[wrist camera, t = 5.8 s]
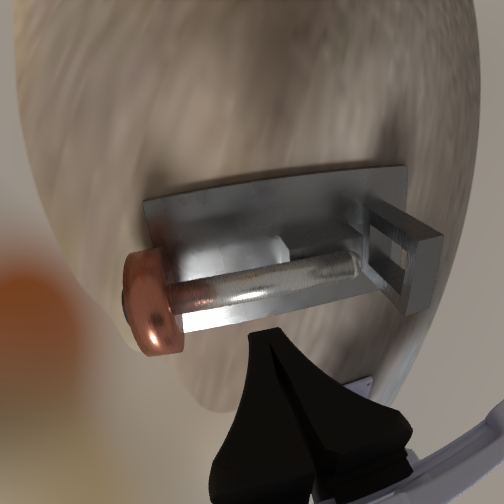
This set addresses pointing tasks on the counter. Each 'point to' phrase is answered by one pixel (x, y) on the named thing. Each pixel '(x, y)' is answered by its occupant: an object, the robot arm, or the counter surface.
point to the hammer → (212, 291)
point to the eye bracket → (299, 237)
